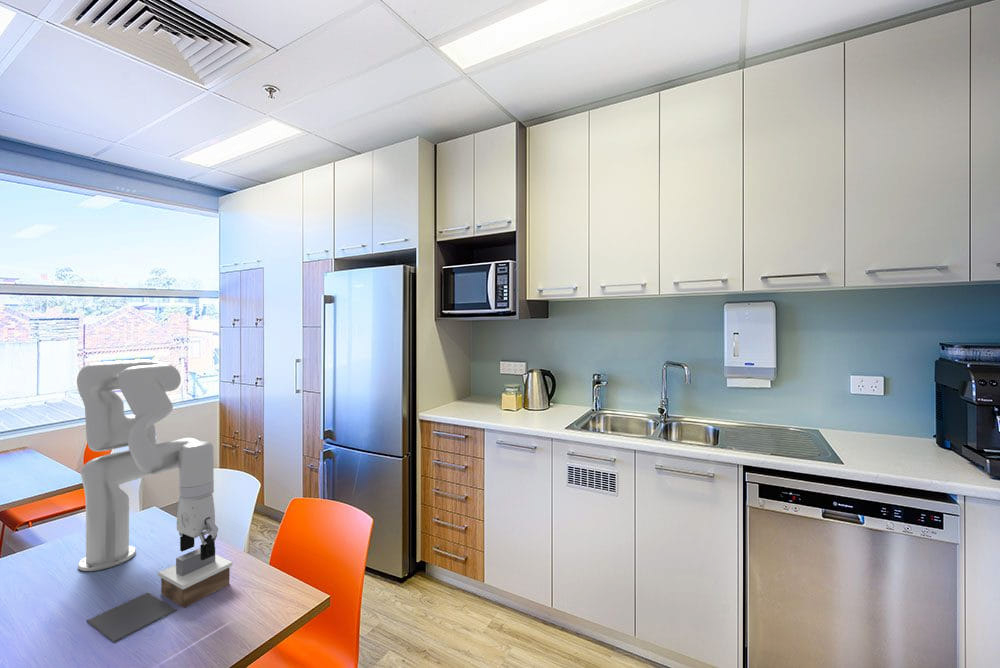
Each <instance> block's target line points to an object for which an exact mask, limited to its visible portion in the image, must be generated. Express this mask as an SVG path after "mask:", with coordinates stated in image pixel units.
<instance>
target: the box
mask: <svg viewBox="0 0 1000 668" xmlns="http://www.w3.org/2000/svg"><path fill="white" fill-rule="evenodd" d="M230 569H231V567H229V568H227V569H225V570H223V571H221V572H219V573H216V574H214V575H212V576H210V577H208V578H206V579H204V580H202V581H200V582H198V583H196V584H194V585H192V586H190V587H187V588H185V589H181V588H179V587H177V586H175V585H173V584H172V583H170V582H168V581H166V580H164V579H162V578H161V577H160V578H161V579H160V582H161V583H160V584H161V590H160V592H161V593H160V595H161V596H163V597H164V598H166V599H168V600H170V601H171V602H173V603H175V604H176V605H178V606H180V607H182V608H183V609H185V608H186V607H189V606H191V605H192V604H194V603H197V602H199V601H201V600H202V599H203V598H206V597H208V596H210V595H211V594H215V592H218V591H219V590H221V589H223V588H225V587H228V586H229V585H230Z"/></svg>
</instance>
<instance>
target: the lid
mask: <svg viewBox="0 0 1000 668" xmlns="http://www.w3.org/2000/svg"><path fill="white" fill-rule="evenodd" d="M233 564H234V562H232V561H231V560H229V559H226V558H224V557H223V556H220V555H218V554H215V555H214V556H212V557H209V558H207V559H205V560H201V552H200V547H198V548H197V549H194V550H192V551H189V552H187V553H185V554H182V555H180V556H177V557H176V559H175V565H172V566H170V567H167V568H165V569H162V570H160V571H158V572H157V574H158V575H157V576H158V577H159V578H162V579H164V580H166V581H168V582H170V583H172V584H173V585H175V586H177V587H179V588H181V589H185V588H187V587H190V586H192V585H194V584H196V583H198V582H200V581H202V580H204V579H206V578H208V577H210V576H212V575H214V574H216V573H219V572H221V571H223V570H225V569H227V568H229V567H230V568H231V567H233Z"/></svg>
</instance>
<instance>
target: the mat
mask: <svg viewBox="0 0 1000 668" xmlns="http://www.w3.org/2000/svg"><path fill="white" fill-rule="evenodd" d="M176 611H177V609H176V608H175V607H173V606H172V605H170V604H169V603H167V602H165V601H163V600H161V599H160V598H158V597H156V596H155V595H153V594H152V593H149V592H146V593H143V594H141V595H139V596H137V597H135V598H133V599H130V600H128V601H126V602H123V603H121V604H119V605H116V606H115V607H112V608H111V609H109V610H107V611H104V612H102V613H99V614H97V615H95V616H92V617H91V618H89V619H87V620H86V623H88V624H89V625H90V626H92V627H93V628H94V629H96V630H97V631H98V632H99V633H101V634H102V635H103V636H104V637H106V638H108V639H109V640H110V641H111V642H113V643H117V642H119V641H120V640H122V639H124V638H126V637H128V636H130V635H132V634H134V633H136V632H138V631H139V630H141V629H143V628H146V627H148V626H149V625H151V624H153V623H155V622H157V621H159V620H161V619H164V617H168V615H171V614H173V613H174V612H176Z"/></svg>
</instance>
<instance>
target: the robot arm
mask: <svg viewBox="0 0 1000 668" xmlns="http://www.w3.org/2000/svg"><path fill="white" fill-rule="evenodd" d="M181 379H182V378H181V374H180V372H179V370H178V369H177V368H176V367H175V366H173V364H170V363H166V362H162V361H156V360H151V359H135V360H115V361H114V360H113V361H101V362H95V363H90V364H87V365H85V366H84V367H82V368H81V369H80V370H79V371H78V375H77V378H76V387H77V390H78V393H79V396H80V398H81V400H82V403H83V406H84V417H85V418H84V419H85V432H86V433H85V434H86V443H87V446H88V449H90V450H91V451H93V452H105V451H110V450H116V449H121V448H125V447H128V450H124V451H118V452H114V453H109V454H104V455H102V456H101V455H100V456H98V457H95V458H92V459H91V460H89V461H87V462H86V463H85V464H84V465H83V466H82V468H81V470H80V471H81V472H80V478H81V482H82V486H83V491H84V496H85V497H84V498H85V557H83V558H82V559H81V560H79V562H78V564H77V565H78V570H80V571H82V572H94V571H95V572H96V571H101V570H105V569H110V568H113V567H115V566H119V565H120V564H123V563H125V562H127V561H129V560H130V559H132V558H133V557H134V556H135V555H136V547H135V546H132V545H130V498H129V495H128V494H127V492H125V490H123V489H121V487H120V486H121V485H123V484H126V483H130V482H133V481H137V480H139V479H142V478H145V477H149V476H151V475H152V476H153V475H158V474H161V473H164V472H168V471H172V470H176V469H178V501H177V511H176V512H177V513H176V531H177V532H178V534H179V536H180V537H179V546H180V549H179V550H180V552H185V551H187V550H190V549H192V548H194V547H195V539H196V538H199V539H200V542H201V544H200V545H199V548H200V552H201V560H205V559H207V558H209V557H212V556H214V555H216V545H215V544H216V543H215V542H216V540H217V537H218V531H219V528H218V526H217V525H216V513H215V512H216V510H215V502H214V497H213V496H214V494H213V493H214V491H215V489H214V487H215V481H214V477H215V476H214V467H215V466H214V463H215V462H214V445H213V443H212V442H210V441H205V440H203V441H202V440H199V439H198V438H195V437H184V438H179V439H175V440H174V439H172V440H169V441H165V442H161V443H157V433H156V426H155V424H157V423H158V422H160V421H162V420H164V418H166V417H168V415H170V414H171V412H172V411H173V408H174V405H173V402H172V401H171V400H170V398H169V396H168V394H167V392H172V391H175V390H177V389H178V388H179V386H180V385H181V381H182V380H181ZM114 390H115V391H116V390H120V391H121V393H122V395H123V397H124V399H125V401H126V402H127V404H128V406H129V408H130V410H131V411H132V413H133V414H127V415H125V407H124V401H123V399H122V398H121V397H120V395H118V394H117V393H116V392H115V391H114ZM206 535H207V536H206ZM205 536H206V537H205Z"/></svg>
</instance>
